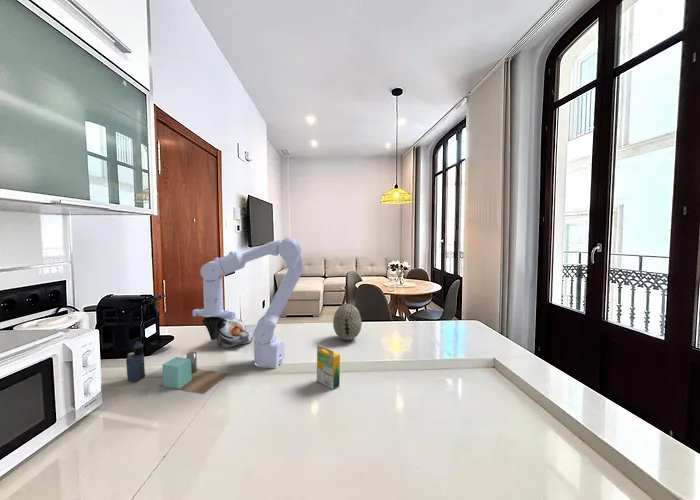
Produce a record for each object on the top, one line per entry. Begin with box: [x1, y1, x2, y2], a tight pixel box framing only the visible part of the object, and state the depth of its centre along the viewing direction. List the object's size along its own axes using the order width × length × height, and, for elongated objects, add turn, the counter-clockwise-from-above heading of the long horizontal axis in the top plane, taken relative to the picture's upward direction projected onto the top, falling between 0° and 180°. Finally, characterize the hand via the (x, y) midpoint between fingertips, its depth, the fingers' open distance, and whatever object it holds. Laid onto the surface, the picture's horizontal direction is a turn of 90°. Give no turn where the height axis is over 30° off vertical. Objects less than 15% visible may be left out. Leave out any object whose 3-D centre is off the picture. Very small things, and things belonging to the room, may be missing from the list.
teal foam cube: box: [161, 356, 192, 390], centre depth 94 cm, size 5×5×7 cm
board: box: [157, 368, 230, 395], centre depth 96 cm, size 15×12×1 cm
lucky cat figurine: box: [216, 317, 254, 348], centre depth 125 cm, size 15×12×14 cm
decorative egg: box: [332, 303, 363, 341], centre depth 132 cm, size 12×12×15 cm
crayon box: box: [316, 344, 341, 390], centre depth 97 cm, size 7×3×12 cm, turn 47°
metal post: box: [186, 351, 198, 374], centre depth 101 cm, size 3×3×6 cm
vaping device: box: [125, 341, 146, 383], centre depth 97 cm, size 3×5×12 cm, turn 78°
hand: (214, 338), depth 105 cm, fingers closed
